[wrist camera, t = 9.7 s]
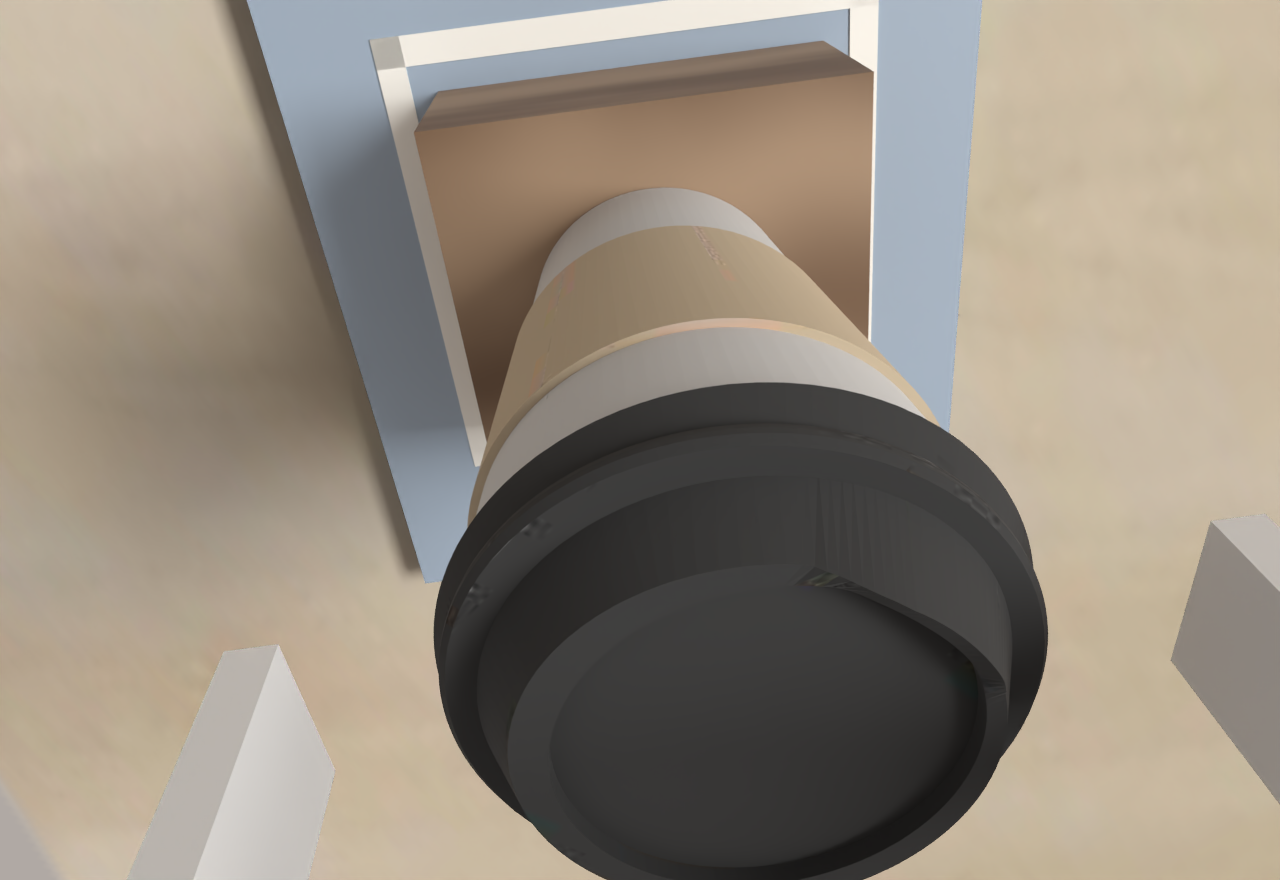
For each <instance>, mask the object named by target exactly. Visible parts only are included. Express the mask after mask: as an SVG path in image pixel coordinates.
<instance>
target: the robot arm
mask: <svg viewBox="0 0 1280 880" xmlns="http://www.w3.org/2000/svg"><path fill="white" fill-rule="evenodd" d="M1171 661H1172V663H1173V664H1174V665H1175V666H1176V668H1177V669H1178V670H1179V672H1180V673H1181V674H1182V676H1183V677H1184V678H1185V680H1186V681H1187V682H1188V684H1189V685H1190V686H1191V688H1192V689H1193V690H1194V692H1195V693H1196V694H1197V696H1198V697H1199V698H1200V700H1201V701H1202V702H1203V703H1204V705H1205V706H1206V707H1207V709H1208V710H1209V711H1210V713H1211V714H1212V715H1213V717H1214V718H1215V719H1216V721H1217V722H1218V723H1219V725H1220V726H1221V727H1222V729H1223V730H1224V731H1225V733H1226V734H1227V735H1228V737H1229V738H1230V739H1231V740H1232V742H1233V743H1234V744H1235V746H1236V747H1237V748H1238V750H1239V751H1240V752H1241V754H1242V755H1243V756H1244V758H1245V759H1246V760H1247V762H1248V763H1249V764H1250V766H1251V767H1252V768H1253V770H1254V771H1255V772H1256V774H1257V775H1258V776H1259V777H1260V779H1261V780H1262V781H1263V783H1264V784H1265V785H1266V787H1267V788H1268V789H1269V791H1270V792H1271V793H1272V795H1273V796H1274V797H1275V799H1276V800H1277V801H1278V803H1279V804H1280V527H1279V526H1278V525H1277V524H1276V523H1274V522H1273V521H1272V520H1271V519H1270V518H1269V517H1268V516H1267V515H1266V514H1260V515H1252V516H1245V517H1237V518H1230V519H1222V520H1214V521H1211V522H1210V525H1209V529H1208V532H1207V536H1206V539H1205V543H1204V546H1203V550H1202V553H1201V557H1200V560H1199V564H1198V567H1197V571H1196V574H1195V578H1194V581H1193V584H1192V588H1191V591H1190V595H1189V598H1188V602H1187V605H1186V609H1185V612H1184V616H1183V619H1182V623H1181V626H1180V630H1179V633H1178V637H1177V640H1176V643H1175V647H1174V650H1173V654H1172V657H1171ZM334 775H335V768H334V766H333V764H332V762H331V760H330V757H329V755H328V753H327V751H326V748H325V746H324V744H323V742H322V740H321V737H320V735H319V733H318V731H317V729H316V726H315V724H314V722H313V720H312V718H311V715H310V713H309V711H308V709H307V706H306V704H305V702H304V700H303V698H302V695H301V693H300V691H299V689H298V687H297V684H296V682H295V680H294V678H293V676H292V673H291V671H290V669H289V667H288V664H287V662H286V660H285V658H284V656H283V653H282V651H281V649H280V647H279V645H278V644H276V645H268V646H261V647H253V648H245V649H238V650H230V651H224V652H223V655H222V657H221V659H220V662H219V664H218V666H217V669H216V671H215V673H214V676H213V678H212V680H211V683H210V685H209V687H208V690H207V692H206V694H205V697H204V699H203V701H202V704H201V706H200V709H199V711H198V713H197V716H196V718H195V720H194V723H193V725H192V727H191V730H190V732H189V734H188V737H187V739H186V741H185V744H184V746H183V748H182V751H181V753H180V755H179V758H178V760H177V763H176V765H175V767H174V770H173V772H172V774H171V777H170V779H169V781H168V784H167V786H166V788H165V791H164V793H163V795H162V798H161V800H160V802H159V805H158V807H157V809H156V812H155V814H154V817H153V819H152V821H151V824H150V826H149V828H148V831H147V833H146V835H145V838H144V840H143V842H142V845H141V847H140V849H139V852H138V854H137V856H136V859H135V861H134V863H133V866H132V868H131V870H130V873H129V875H128V878H127V880H308V879H309V875H310V871H311V867H312V863H313V859H314V855H315V851H316V847H317V843H318V839H319V835H320V831H321V827H322V823H323V819H324V815H325V811H326V807H327V803H328V799H329V795H330V791H331V787H332V783H333V779H334Z"/></svg>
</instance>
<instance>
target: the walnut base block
mask: <svg viewBox="0 0 1280 880" xmlns="http://www.w3.org/2000/svg"><path fill="white" fill-rule="evenodd" d="M873 91H874V71H872V70H870V69H869V68H867V67H866V66H864V65H862V64H861V63H859V62H857V61H856V60H854V59H853V58H851V57H849V56H848V55H846V54H844V53H843V52H841V51H840V50H838V49H836V48H835V47H833V46H831V45H830V44H828V43H827V42H825V41H816V42H808V43H800V44H793V45H785V46H778V47H770V48H763V49H755V50H747V51H740V52H732V53H725V54H717V55H709V56H702V57H694V58H687V59H679V60H672V61H664V62H656V63H649V64H641V65H634V66H626V67H618V68H611V69H603V70H596V71H588V72H581V73H573V74H565V75H558V76H550V77H543V78H535V79H527V80H520V81H512V82H505V83H497V84H490V85H482V86H474V87H467V88H459V89H452V90H444V91H438V93H437V94H436V96H435V98H434V99H433V101H432V103H431V104H430V106H429V108H428V109H427V111H426V113H425V114H424V116H423V118H422V119H421V121H420V123H419V124H418V126H417V128H416V129H415V131H414V136H415V140H416V145H417V149H418V153H419V157H420V162H421V166H422V170H423V174H424V179H425V183H426V187H427V191H428V196H429V200H430V204H431V208H432V212H433V217H434V221H435V225H436V229H437V234H438V238H439V242H440V246H441V251H442V255H443V259H444V263H445V268H446V272H447V276H448V280H449V285H450V289H451V293H452V297H453V302H454V306H455V310H456V314H457V319H458V323H459V327H460V331H461V336H462V340H463V344H464V348H465V353H466V357H467V361H468V365H469V369H470V374H471V378H472V382H473V386H474V391H475V395H476V399H477V403H478V408H479V412H480V416H481V420H482V425H483V429H484V433H485V437H486V442H487V441H488V437H489V434H490V430H491V427H492V423H493V420H494V417H495V413H496V410H497V406H498V403H499V399H500V396H501V392H502V389H503V385H504V382H505V379H506V375H507V372H508V368H509V365H510V361H511V358H512V354H513V351H514V347H515V344H516V341H517V337H518V334H519V332H520V329H521V327H522V324H523V322H524V320H525V318H526V316H527V314H528V312H529V310H530V309H531V307H532V305H533V303H534V299H535V295H536V292H537V288H538V284H539V280H540V277H541V273H542V271H543V268H544V265H545V263H546V261H547V259H548V256H549V254H550V253H551V251H552V249H553V248H554V246H555V245H556V243H557V242H558V240H559V239H560V237H561V236H562V235H563V234H564V233H565V232H566V230H567V229H568V228H569V227H570V226H571V225H572V224H573V223H574V222H575V221H577V220H578V219H579V218H580V217H581V216H583V215H584V214H585V213H587V212H588V211H589V210H591V209H593V208H594V207H596V206H598V205H599V204H601V203H603V202H605V201H607V200H609V199H612V198H614V197H617V196H619V195H622V194H625V193H629V192H633V191H637V190H643V189H649V188H681V189H688V190H693V191H698V192H701V193H705V194H708V195H711V196H714V197H716V198H718V199H721V200H723V201H725V202H727V203H729V204H731V205H732V206H734V207H735V208H737V209H739V210H740V211H742V212H743V213H744V214H746V215H747V216H748V217H749V218H750V219H752V220H753V221H754V222H755V223H756V224H757V225H758V226H759V227H760V228H761V229H762V230H763V231H764V233H765V234H766V235H767V236H768V237H769V238H770V240H771V241H772V242H773V243H774V244H775V245H776V246H777V248H778V249H779V250H780V251H781V252H782V253H783V255H784V256H785V257H787V258H788V259H790V260H791V261H792V262H794V263H795V264H796V265H797V266H798V267H799V268H800V269H802V270H803V271H804V272H805V273H806V274H807V275H808V276H809V277H810V278H811V279H812V280H813V282H814V283H815V284H816V285H817V286H818V287H819V288H820V289H821V290H822V291H823V292H824V293H825V294H826V295H827V296H828V298H829V299H830V300H831V301H832V302H833V303H834V304H835V305H836V306H837V307H838V308H839V309H840V310H841V311H842V312H843V314H844V315H845V316H846V317H847V318H848V319H849V320H850V321H851V322H852V323H853V324H854V325H855V326H856V327H857V329H858V330H859V331H860V332H861V333H862V334H863V335H864V336H865V337H866V338H867V339H868V327H869V280H870V233H871V185H872V138H873Z"/></svg>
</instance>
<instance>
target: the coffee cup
mask: <svg viewBox="0 0 1280 880" xmlns="http://www.w3.org/2000/svg"><path fill="white" fill-rule="evenodd" d="M1047 645H1048V625H1047V615H1046V608H1045V603H1044V598H1043V594H1042V591H1041V588H1040V584H1039V582H1038V579H1037V576H1036V574H1035V572H1034V569H1033V562H1032V555H1031V549H1030V545H1029V540H1028V537H1027V533H1026V530H1025V527H1024V525H1023V522H1022V520H1021V517H1020V515H1019V513H1018V510H1017V508H1016V506H1015V504H1014V503H1013V501H1012V499H1011V497H1010V496H1009V494H1008V492H1007V491H1006V489H1005V488H1004V486H1003V485H1002V483H1001V482H1000V481H999V479H998V478H997V477H996V476H995V474H994V473H993V472H992V471H991V470H990V468H989V467H988V466H987V465H986V464H985V463H984V462H983V461H982V460H981V459H980V458H979V457H978V456H977V455H976V454H975V453H974V452H973V451H971V450H970V449H969V448H968V447H967V446H965V445H964V444H963V443H962V442H961V441H960V440H958V439H957V438H955V437H954V436H952V435H951V434H949V433H948V432H947V431H945V430H944V429H942V428H941V427H940V425H939V423H938V421H937V420H936V418H935V416H934V415H933V413H932V411H931V410H930V408H929V407H928V406H927V404H926V403H925V401H924V400H923V399H922V398H921V396H920V395H919V394H918V393H917V392H916V391H915V389H914V388H913V387H912V386H911V385H910V384H909V383H908V382H907V381H906V380H905V379H904V378H903V377H902V376H901V374H900V373H899V372H898V371H897V370H896V369H895V368H894V367H893V366H892V365H891V364H890V363H889V362H888V361H887V359H886V358H885V357H884V356H883V355H882V354H881V353H880V352H879V351H878V350H877V349H876V348H875V347H874V346H873V345H872V343H871V342H870V341H869V340H868V339H867V338H866V337H865V336H864V335H863V334H862V333H861V332H860V331H859V330H858V329H857V327H856V326H855V325H854V324H853V323H852V322H851V321H850V320H849V319H848V318H847V317H846V316H845V315H844V314H843V312H842V311H841V310H840V309H839V308H838V307H837V306H836V305H835V304H834V303H833V302H832V301H831V300H830V299H829V298H828V296H827V295H826V294H825V293H824V292H823V291H822V290H821V289H820V288H819V287H818V286H817V285H816V284H815V283H814V282H813V280H812V279H811V278H810V277H809V276H808V275H807V274H806V273H805V272H804V271H803V270H802V269H800V268H799V267H798V266H797V265H796V264H795V263H794V262H792V261H791V260H790V259H788V258H787V257H785V256H784V255H783V253H782V252H781V251H780V250H779V249H778V248H777V246H776V245H775V244H774V243H773V242H772V241H771V240H770V238H769V237H768V236H767V235H766V234H765V233H764V231H763V230H762V229H761V228H760V227H759V226H758V225H757V224H756V223H755V222H754V221H753V220H752V219H750V218H749V217H748V216H747V215H746V214H744V213H743V212H742V211H740V210H739V209H737V208H735V207H734V206H732V205H731V204H729V203H727V202H725V201H723V200H721V199H718V198H716V197H714V196H711V195H708V194H705V193H701V192H698V191H693V190H688V189H681V188H649V189H643V190H637V191H633V192H629V193H625V194H622V195H619V196H617V197H614V198H612V199H609V200H607V201H605V202H603V203H601V204H599V205H598V206H596V207H594V208H593V209H591V210H589V211H588V212H587V213H585V214H584V215H583V216H581V217H580V218H579V219H578V220H577V221H575V222H574V223H573V224H572V225H571V226H570V227H569V228H568V229H567V230H566V232H565V233H564V234H563V235H562V236H561V237H560V239H559V240H558V242H557V243H556V245H555V246H554V248H553V249H552V251H551V253H550V254H549V256H548V259H547V261H546V263H545V265H544V268H543V271H542V273H541V277H540V280H539V284H538V288H537V292H536V295H535V299H534V303H533V305H532V307H531V309H530V310H529V312H528V314H527V316H526V318H525V320H524V322H523V324H522V327H521V329H520V332H519V334H518V337H517V341H516V344H515V347H514V351H513V354H512V358H511V361H510V365H509V368H508V372H507V375H506V379H505V382H504V385H503V389H502V392H501V396H500V399H499V403H498V406H497V410H496V413H495V417H494V420H493V423H492V427H491V430H490V434H489V437H488V441H487V444H486V448H485V451H484V455H483V458H482V461H481V465H480V468H479V472H478V475H477V479H476V482H475V486H474V489H473V493H472V497H471V501H470V507H469V514H468V524H467V529H466V531H465V533H464V534H463V536H462V537H461V539H460V541H459V543H458V544H457V546H456V548H455V550H454V552H453V554H452V557H451V559H450V561H449V563H448V566H447V568H446V571H445V574H444V577H443V580H442V583H441V586H440V590H439V594H438V598H437V604H436V609H435V618H434V650H435V658H436V664H437V669H438V673H439V686H440V694H441V699H442V704H443V708H444V712H445V715H446V719H447V722H448V724H449V727H450V729H451V732H452V734H453V736H454V738H455V740H456V742H457V744H458V746H459V748H460V750H461V752H462V753H463V755H464V756H465V758H466V759H467V761H468V762H469V764H470V765H471V767H472V768H473V769H474V771H475V772H476V773H477V774H478V776H479V777H480V778H481V779H482V780H483V781H484V782H485V784H486V785H487V786H488V787H489V788H490V789H491V790H492V791H493V792H494V793H495V794H496V795H497V796H498V797H500V798H501V799H502V800H503V801H504V802H505V803H506V804H507V805H509V806H510V807H511V808H512V809H513V810H514V811H516V812H517V813H518V814H520V815H521V816H523V817H524V818H525V819H527V820H528V821H529V822H531V823H532V824H533V825H534V826H535V828H536V829H537V830H538V831H539V832H540V833H541V835H542V836H543V837H544V838H545V839H546V840H547V841H548V842H549V843H550V844H552V845H553V846H554V847H555V848H556V849H557V850H558V851H560V852H561V853H562V854H564V855H565V856H566V857H568V858H569V859H570V860H572V861H573V862H575V863H577V864H578V865H580V866H581V867H583V868H585V869H586V870H588V871H590V872H592V873H594V874H596V875H598V876H600V877H602V878H604V879H607V880H863V879H866V878H868V877H871V876H873V875H876V874H878V873H880V872H882V871H885V870H887V869H889V868H891V867H893V866H895V865H897V864H899V863H900V862H902V861H904V860H906V859H908V858H909V857H911V856H913V855H914V854H916V853H917V852H919V851H921V850H922V849H924V848H925V847H926V846H928V845H929V844H931V843H932V842H934V841H935V840H936V839H937V838H939V837H940V836H941V835H942V834H944V833H945V832H946V831H947V830H948V829H950V828H951V827H952V826H953V825H954V824H955V823H956V822H957V821H958V820H959V819H960V818H961V817H962V816H963V815H964V814H965V813H966V812H967V811H968V810H969V809H970V807H971V806H972V805H973V804H974V802H975V801H976V800H977V799H978V797H979V796H980V794H981V793H982V792H983V790H984V789H985V787H986V786H987V784H988V782H989V781H990V779H991V777H992V775H993V773H994V771H995V769H996V767H997V764H998V762H999V759H1000V758H1001V757H1002V755H1003V754H1004V753H1005V751H1006V750H1007V749H1008V747H1009V746H1010V745H1011V743H1012V742H1013V740H1014V739H1015V737H1016V736H1017V734H1018V732H1019V731H1020V729H1021V727H1022V726H1023V724H1024V722H1025V720H1026V718H1027V716H1028V714H1029V712H1030V710H1031V707H1032V705H1033V702H1034V699H1035V697H1036V694H1037V692H1038V689H1039V686H1040V683H1041V679H1042V676H1043V672H1044V667H1045V662H1046V655H1047Z"/></svg>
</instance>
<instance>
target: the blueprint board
mask: <svg viewBox="0 0 1280 880" xmlns="http://www.w3.org/2000/svg"><path fill="white" fill-rule="evenodd" d="M247 3H248V6H249V9H250V13H251V16H252V19H253V22H254V26H255V29H256V32H257V36H258V39H259V42H260V45H261V49H262V52H263V55H264V58H265V62H266V65H267V68H268V71H269V75H270V78H271V81H272V84H273V88H274V91H275V94H276V98H277V101H278V104H279V107H280V111H281V114H282V117H283V120H284V124H285V127H286V130H287V133H288V137H289V140H290V143H291V146H292V150H293V153H294V156H295V160H296V163H297V166H298V169H299V173H300V176H301V179H302V182H303V186H304V189H305V192H306V195H307V199H308V202H309V205H310V208H311V212H312V215H313V218H314V222H315V225H316V228H317V231H318V235H319V238H320V241H321V244H322V248H323V251H324V254H325V257H326V261H327V264H328V267H329V270H330V274H331V277H332V280H333V284H334V287H335V290H336V293H337V297H338V300H339V303H340V306H341V310H342V313H343V316H344V319H345V323H346V326H347V329H348V332H349V336H350V339H351V342H352V346H353V349H354V352H355V355H356V359H357V362H358V365H359V368H360V372H361V375H362V378H363V381H364V385H365V388H366V391H367V394H368V398H369V401H370V404H371V408H372V411H373V414H374V417H375V421H376V424H377V427H378V430H379V434H380V437H381V440H382V443H383V447H384V450H385V453H386V456H387V460H388V463H389V466H390V470H391V473H392V476H393V479H394V483H395V486H396V489H397V492H398V496H399V499H400V502H401V505H402V509H403V512H404V515H405V518H406V522H407V525H408V528H409V532H410V535H411V538H412V541H413V545H414V548H415V551H416V554H417V558H418V561H419V564H420V567H421V571H422V574H423V577H424V580H425V583H432V582H439V581H442V580H443V577H444V574H445V571H446V568H447V566H448V563H449V561H450V559H451V557H452V554H453V552H454V550H455V548H456V546H457V544H458V543H459V541H460V539H461V537H462V536H463V534H464V533H465V531H466V529H467V524H468V514H469V507H470V501H471V497H472V493H473V489H474V486H475V482H476V479H477V475H478V472H479V468H480V465H481V461H482V458H483V455H484V451H485V448H486V444H487V442H486V437H485V433H484V429H483V425H482V420H481V416H480V412H479V408H478V403H477V399H476V395H475V391H474V386H473V382H472V378H471V374H470V369H469V365H468V361H467V357H466V353H465V348H464V344H463V340H462V336H461V331H460V327H459V323H458V319H457V314H456V310H455V306H454V302H453V297H452V293H451V289H450V285H449V280H448V276H447V272H446V268H445V263H444V259H443V255H442V251H441V246H440V242H439V238H438V234H437V229H436V225H435V221H434V217H433V212H432V208H431V204H430V200H429V196H428V191H427V187H426V183H425V179H424V174H423V170H422V166H421V162H420V157H419V153H418V149H417V145H416V140H415V136H414V131H415V129H416V128H417V126H418V124H419V123H420V121H421V119H422V118H423V116H424V114H425V113H426V111H427V109H428V108H429V106H430V104H431V103H432V101H433V99H434V98H435V96H436V94H437V93H438V91H444V90H452V89H459V88H467V87H474V86H482V85H490V84H497V83H505V82H512V81H520V80H527V79H535V78H543V77H550V76H558V75H565V74H573V73H581V72H588V71H596V70H603V69H611V68H618V67H626V66H634V65H641V64H649V63H656V62H664V61H672V60H679V59H687V58H694V57H702V56H709V55H717V54H725V53H732V52H740V51H747V50H755V49H763V48H770V47H778V46H785V45H793V44H800V43H808V42H816V41H825V42H827V43H828V44H830V45H831V46H833V47H835V48H836V49H838V50H840V51H841V52H843V53H844V54H846V55H848V56H849V57H851V58H853V59H854V60H856V61H857V62H859V63H861V64H862V65H864V66H866V67H867V68H869V69H870V70H872V71H874V91H873V138H872V185H871V233H870V280H869V327H868V340H869V341H870V342H871V343H872V345H873V346H874V347H875V348H876V349H877V350H878V351H879V352H880V353H881V354H882V355H883V356H884V357H885V358H886V359H887V361H888V362H889V363H890V364H891V365H892V366H893V367H894V368H895V369H896V370H897V371H898V372H899V373H900V374H901V376H902V377H903V378H904V379H905V380H906V381H907V382H908V383H909V384H910V385H911V386H912V387H913V388H914V389H915V391H916V392H917V393H918V394H919V395H920V396H921V398H922V399H923V400H924V401H925V403H926V404H927V406H928V407H929V408H930V410H931V411H932V413H933V415H934V416H935V418H936V420H937V421H938V423H939V425H940V427H941V428H942V429H944V430H945V431H947V432H948V433H949V425H950V412H951V399H952V386H953V373H954V360H955V347H956V334H957V321H958V308H959V295H960V282H961V269H962V256H963V243H964V230H965V217H966V204H967V191H968V178H969V165H970V152H971V139H972V125H973V112H974V99H975V86H976V73H977V60H978V47H979V34H980V21H981V8H982V0H247Z"/></svg>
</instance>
